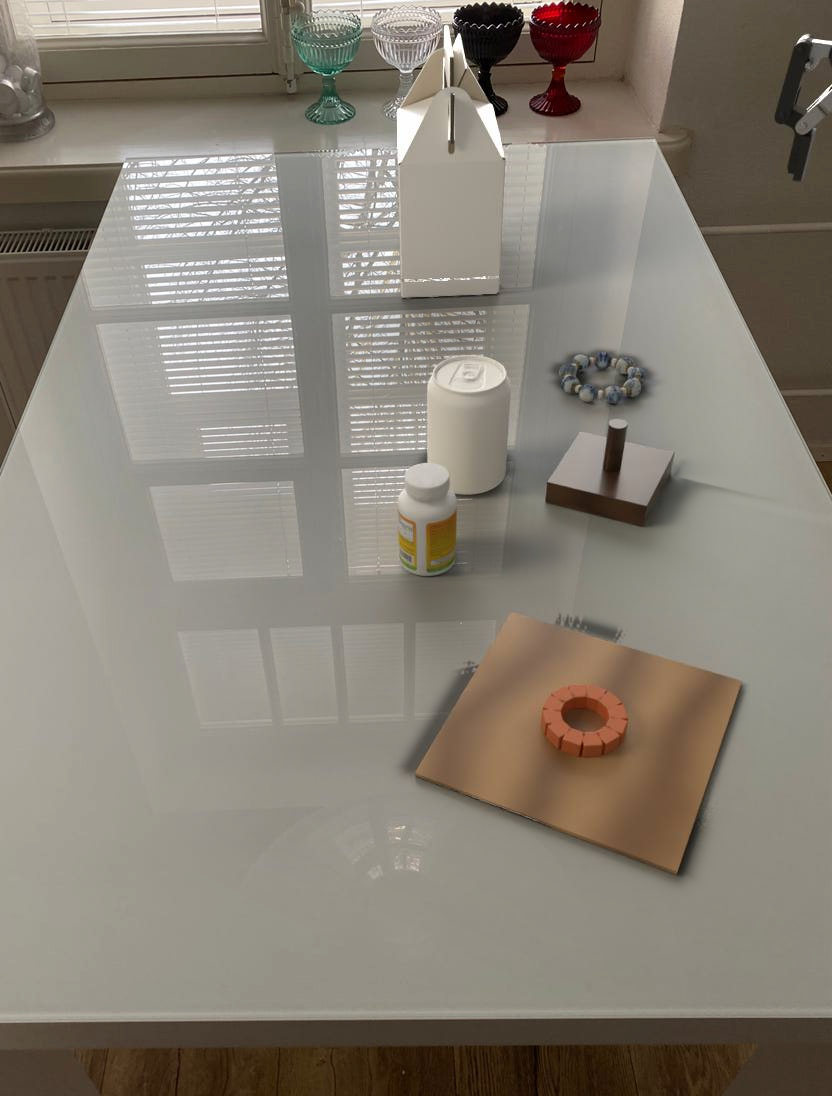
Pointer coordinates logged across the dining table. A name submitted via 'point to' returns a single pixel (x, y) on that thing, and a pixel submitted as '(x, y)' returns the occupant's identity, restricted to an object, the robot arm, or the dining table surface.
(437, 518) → the supplement bottle
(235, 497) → the dining table surface
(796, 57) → the robot arm
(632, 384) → the bracelet
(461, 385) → the beverage can
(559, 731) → the ring
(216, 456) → the dining table surface
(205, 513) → the dining table surface
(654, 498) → the peg stand
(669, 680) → the wooden board
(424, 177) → the gable box
